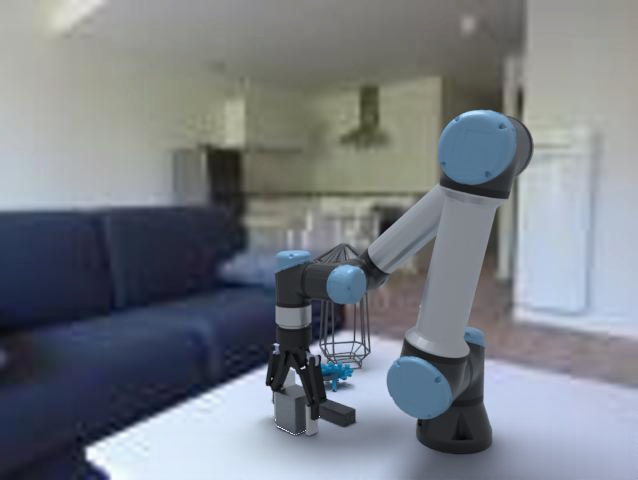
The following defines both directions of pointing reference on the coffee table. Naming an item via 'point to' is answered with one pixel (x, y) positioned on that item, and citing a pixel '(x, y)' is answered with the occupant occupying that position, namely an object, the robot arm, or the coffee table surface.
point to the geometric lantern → (331, 254)
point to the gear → (336, 372)
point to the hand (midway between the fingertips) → (295, 426)
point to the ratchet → (329, 407)
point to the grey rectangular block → (291, 409)
